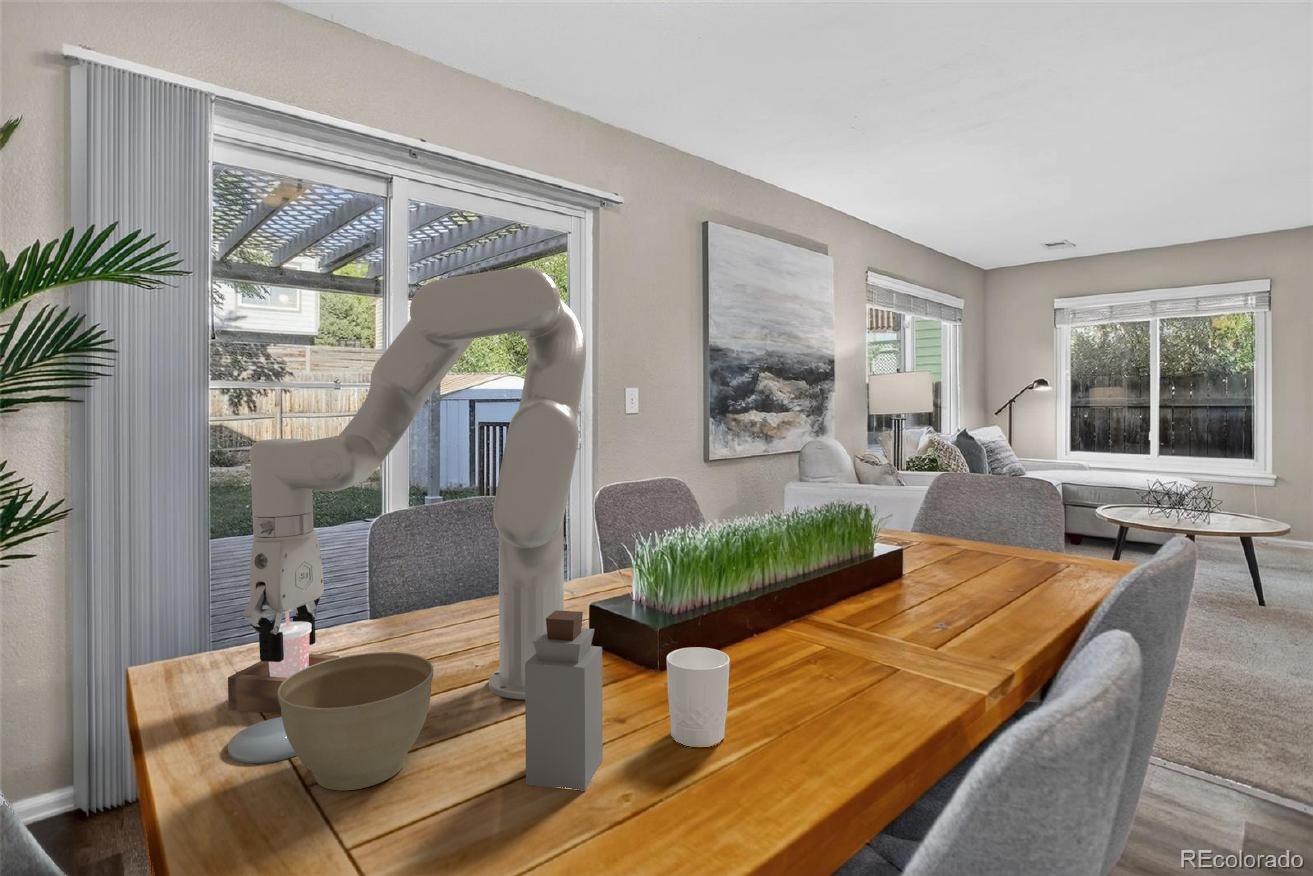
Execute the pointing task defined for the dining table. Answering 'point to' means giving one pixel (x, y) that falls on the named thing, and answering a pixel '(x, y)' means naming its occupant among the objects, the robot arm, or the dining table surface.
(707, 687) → the white cup
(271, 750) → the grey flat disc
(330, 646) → the dining table surface
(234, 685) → the square wooden frame
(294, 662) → the beverage cup
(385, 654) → the planter bowl
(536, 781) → the perfume bottle
